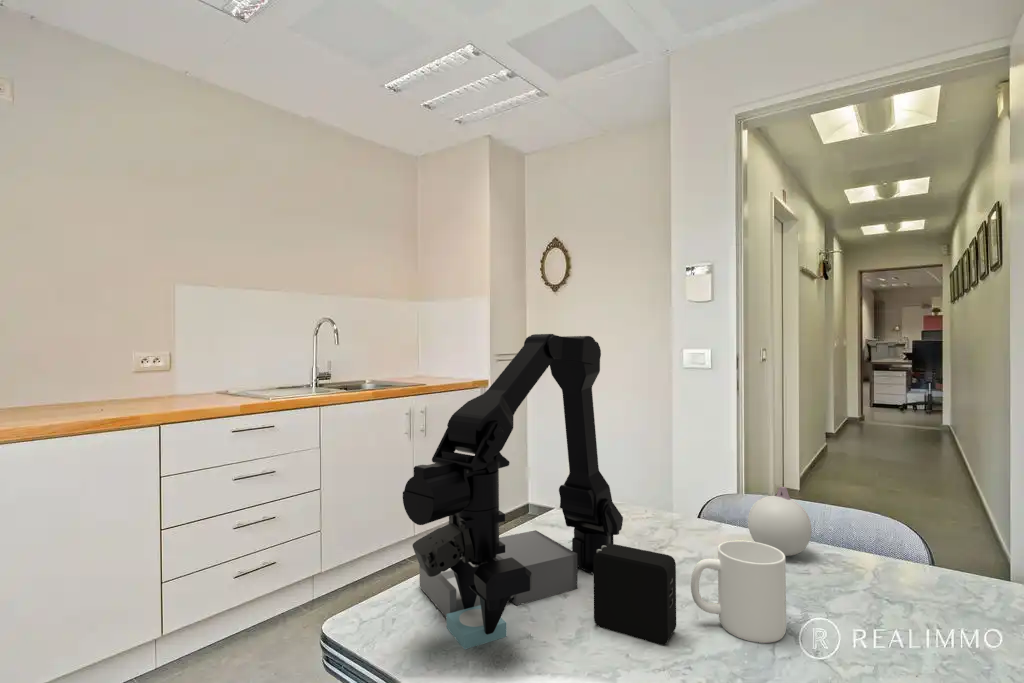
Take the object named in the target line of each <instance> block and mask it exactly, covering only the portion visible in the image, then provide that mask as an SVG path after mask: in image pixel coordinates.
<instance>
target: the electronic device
mask: <svg viewBox="0 0 1024 683" xmlns="http://www.w3.org/2000/svg"><path fill="white" fill-rule="evenodd" d="M593 567H594V573H593V619H594V620H593V621H594V623H595V625H596V626H597V627H599V628H601V629H604V630H608V631H611V632H616V633H618V634H622V635H626V636H629V637H633V638H636V639H639V640H643V641H645V642H650V643H653V644H656V645H659V646H665V645H666V644H667V643H668V642H669V640H670V639H671V637H672V635H673V633H674V631H675V630H676V628H677V575H676V574H677V571H676V570H677V568H676V567H677V564H676V559H675V558H674V557H673V556H671V555H669V554H665V553H659V552H655V551H649V550H647V549H646V550H645V549H640V548H635V547H630V546H625V545H620V544H616V543H613V544H607V545H606V546H604V545H602V546H601V550H600V549H598V550H597V553H596V554H595V555H594V558H593Z"/></svg>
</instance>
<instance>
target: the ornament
mask: <svg viewBox="0 0 1024 683" xmlns="http://www.w3.org/2000/svg"><path fill="white" fill-rule="evenodd" d="M747 525H748V530H749V534H750V536H751V538H752V540H753V542H758V543H762V544H766V545H769V546H772V547H774V548H777V549H778V550H780V551H782V552H783V553H784V555H785V557H791V556H796V555H798V554H800V553H801V552H803V551H804V550H805V549H806V548H807V546H808V545H809V543H810V540H811V537H812V523H811V519H810V517H809V515H808V512H807V511H806V510H805V509H804V507H803V506H802V505H801V504H800V503H798V502H797V501H795V500H793V499H791V497H790V495H789V492H788V488H787V487H786V486H779V487H778V490H777V493H776V495H769V496H764V497H761V498H760V499H758V500H756V501H755V502H754V503H753V505H752V506H751V508H750V510H749V513H748V518H747Z"/></svg>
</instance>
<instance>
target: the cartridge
mask: <svg viewBox="0 0 1024 683" xmlns="http://www.w3.org/2000/svg"><path fill="white" fill-rule="evenodd" d="M445 619H446V620H445V621H446V629H448V632H450V634H451V635H452V637H454V639H455V640H456V641H457V642H458V644H459V646H461V648H463V650H468V649H470V648H474V647H477V646H480V645H481V646H482V645H485V644H487V643H491V642H494V641H498V640H500V639H504V638H507V634H508V632H507V622H506V621H505V620H504V618H502V617H501V618H500V620H499V622H498V624H497V626H496V628H495V630H494V632H493V633H491V634H488V635H487V634H486V633H485V631H484V625H483V619H482V611H481V605H479V606H475V607H471V608H468V609H464V610H460V611H456V612H452V613H448V614H446V617H445Z"/></svg>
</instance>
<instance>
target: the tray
mask: <svg viewBox="0 0 1024 683" xmlns="http://www.w3.org/2000/svg"><path fill="white" fill-rule="evenodd" d="M418 565H419V564H418ZM418 567H419V587H420V589H421V590H422V592H424V593H425V594H426V596H427V597H428V598H429V599H430V600H431V601H432V603H433V604H434V605H435V606H436V607H437V608H438V610H439V611H440V612H441V613H442V614H443V615H444V617H445V618H446V614H448V613H452V612H456V611H460V610H464V607H463V603H462V600H461V596H460V592H459V589H458V585H457V582H456V578H455V575H454V572H453V570H452V569H450V568H449V569H448V570H446V571H444V572H441V573H440V574H438V575H436V576H433V577H430V576H428V575H427V573H426V572H425V571H424V570H423V569H422V568H421V567H420V565H419V566H418ZM513 597H514V595H512V596H511V598H513ZM479 605H481V603H480V597H479V596H478V595H477V597H476V601H475V604H474V607H475V606H479Z"/></svg>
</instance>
